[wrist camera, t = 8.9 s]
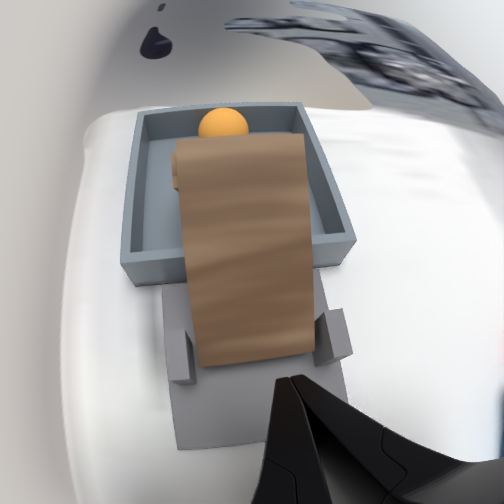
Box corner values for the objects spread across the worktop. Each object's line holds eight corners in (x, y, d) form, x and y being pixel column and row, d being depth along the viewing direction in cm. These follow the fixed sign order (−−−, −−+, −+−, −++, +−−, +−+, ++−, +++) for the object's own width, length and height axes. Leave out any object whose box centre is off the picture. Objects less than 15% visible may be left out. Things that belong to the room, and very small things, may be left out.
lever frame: (345, 421, 16) (377, 422, 12) (180, 447, 15) (165, 460, 11) (314, 275, 21) (334, 241, 17) (164, 291, 20) (149, 259, 16)
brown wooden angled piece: (321, 349, 16) (311, 133, 14) (191, 367, 15) (166, 141, 13) (286, 307, 23) (276, 157, 21) (194, 317, 22) (179, 163, 21)
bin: (339, 265, 21) (357, 240, 18) (135, 286, 20) (120, 263, 16) (294, 131, 28) (301, 102, 25) (144, 141, 26) (138, 111, 23)
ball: (243, 127, 26) (249, 164, 25) (198, 130, 26) (200, 167, 24) (247, 96, 22) (254, 134, 21) (196, 99, 22) (198, 138, 21)
